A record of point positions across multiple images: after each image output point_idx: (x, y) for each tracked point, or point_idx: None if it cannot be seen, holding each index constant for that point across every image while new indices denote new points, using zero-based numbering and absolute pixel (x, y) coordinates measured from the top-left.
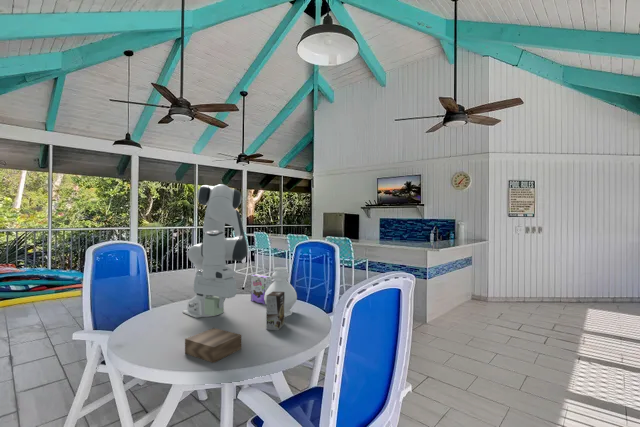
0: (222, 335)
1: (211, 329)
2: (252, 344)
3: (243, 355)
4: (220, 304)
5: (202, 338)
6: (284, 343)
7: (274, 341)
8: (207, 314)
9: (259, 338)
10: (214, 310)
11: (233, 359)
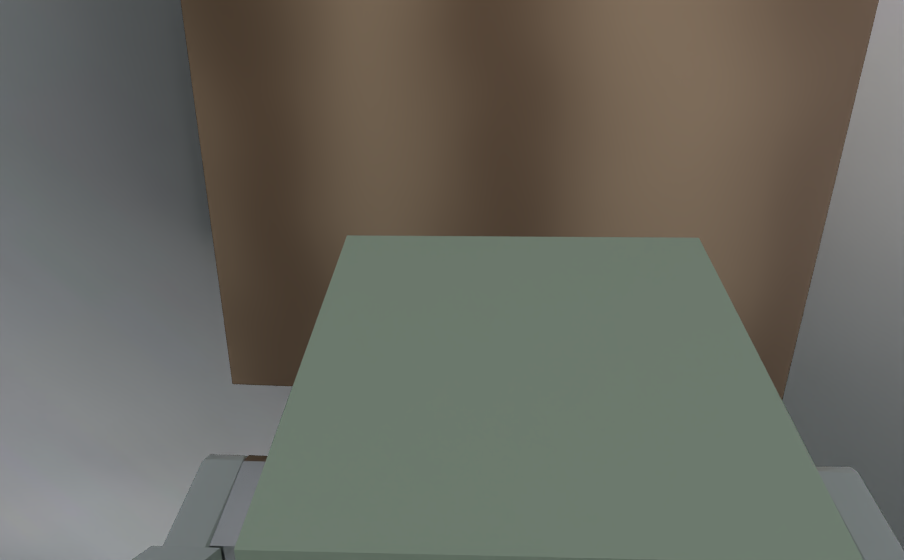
0: None
1: (763, 350)
2: (266, 416)
3: (118, 179)
4: (176, 546)
5: (626, 32)
6: (31, 545)
7: (143, 543)
8: (594, 240)
9: None
10: (325, 325)
11: (120, 48)
